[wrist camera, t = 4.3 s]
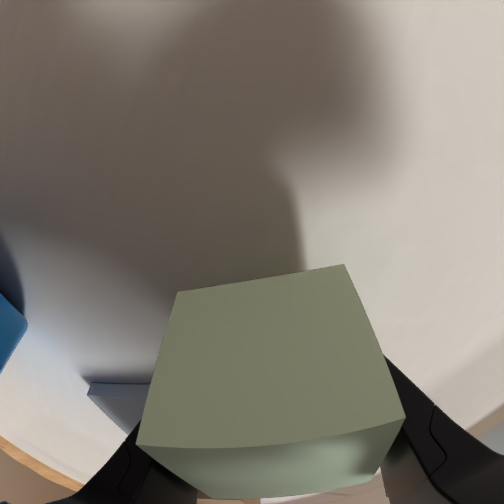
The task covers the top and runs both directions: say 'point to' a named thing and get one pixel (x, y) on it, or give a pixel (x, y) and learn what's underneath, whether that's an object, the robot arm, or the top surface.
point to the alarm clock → (9, 330)
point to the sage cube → (271, 389)
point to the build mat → (120, 402)
